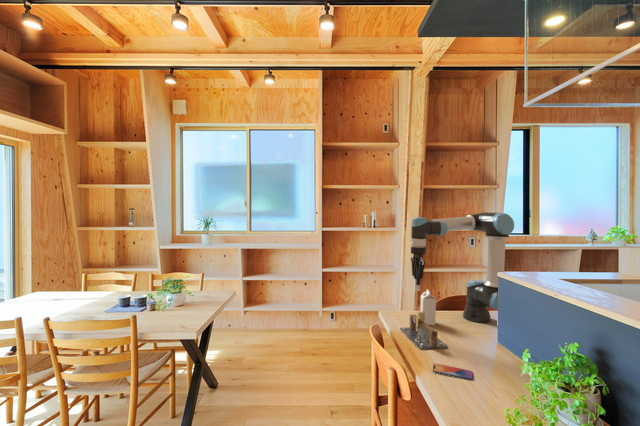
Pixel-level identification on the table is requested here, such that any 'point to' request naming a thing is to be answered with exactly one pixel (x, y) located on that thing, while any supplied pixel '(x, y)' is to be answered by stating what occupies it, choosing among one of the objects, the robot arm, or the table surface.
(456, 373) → the smartphone
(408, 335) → the flange plate
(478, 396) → the table surface
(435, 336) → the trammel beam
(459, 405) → the table surface
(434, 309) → the milk carton
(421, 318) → the slider
